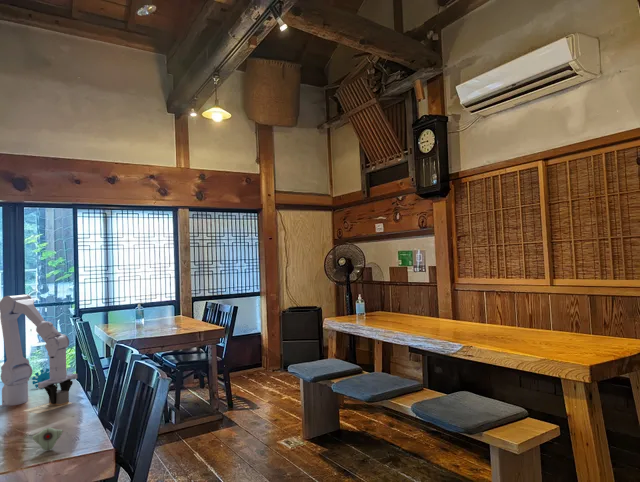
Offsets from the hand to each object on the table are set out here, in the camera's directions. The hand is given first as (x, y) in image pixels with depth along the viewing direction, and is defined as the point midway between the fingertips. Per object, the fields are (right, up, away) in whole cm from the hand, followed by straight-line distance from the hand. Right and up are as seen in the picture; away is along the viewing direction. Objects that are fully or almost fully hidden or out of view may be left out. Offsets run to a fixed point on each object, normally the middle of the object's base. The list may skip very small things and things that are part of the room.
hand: (58, 401), depth 176 cm
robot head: (+22, +1, -44) cm, 49 cm away
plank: (-2, -2, -4) cm, 5 cm away
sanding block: (0, -1, 0) cm, 0 cm away
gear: (-25, -5, +32) cm, 41 cm away
